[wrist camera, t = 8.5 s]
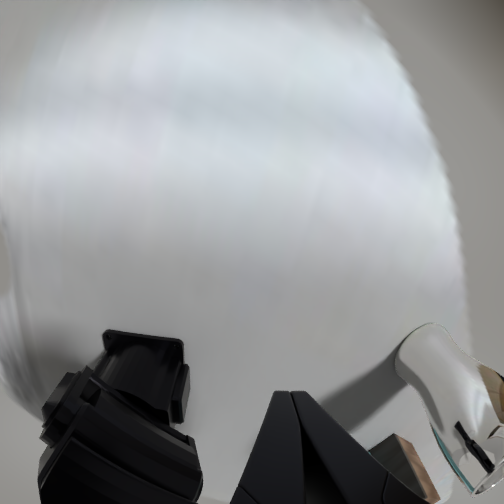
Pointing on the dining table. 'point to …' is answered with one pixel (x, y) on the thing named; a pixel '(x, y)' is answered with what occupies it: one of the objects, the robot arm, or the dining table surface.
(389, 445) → the block
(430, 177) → the dining table surface
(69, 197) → the dining table surface
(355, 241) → the dining table surface
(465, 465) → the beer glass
